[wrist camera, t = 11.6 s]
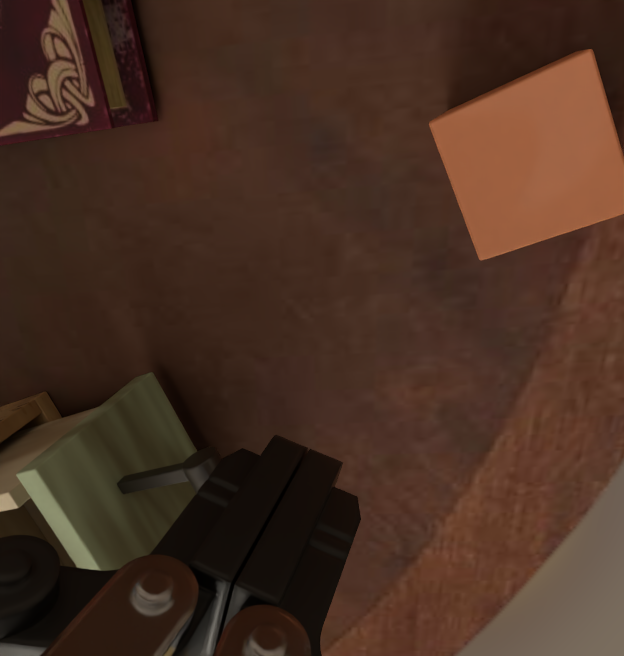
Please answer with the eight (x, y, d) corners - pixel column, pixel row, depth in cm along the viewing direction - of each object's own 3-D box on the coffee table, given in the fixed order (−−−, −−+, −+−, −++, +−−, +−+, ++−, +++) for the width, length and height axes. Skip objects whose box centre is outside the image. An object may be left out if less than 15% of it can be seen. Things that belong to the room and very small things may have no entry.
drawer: (238, 343, 26) (136, 442, 19) (341, 545, 29) (284, 694, 22) (-16, 426, 34) (-150, 516, 28) (84, 576, 37) (-15, 691, 30)
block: (617, 180, 19) (639, 209, 16) (488, 226, 21) (479, 261, 18) (578, 50, 18) (592, 47, 15) (446, 111, 20) (427, 122, 17)
